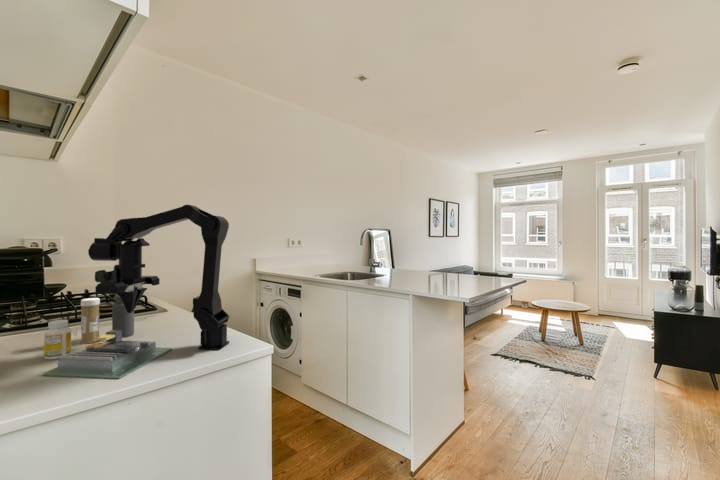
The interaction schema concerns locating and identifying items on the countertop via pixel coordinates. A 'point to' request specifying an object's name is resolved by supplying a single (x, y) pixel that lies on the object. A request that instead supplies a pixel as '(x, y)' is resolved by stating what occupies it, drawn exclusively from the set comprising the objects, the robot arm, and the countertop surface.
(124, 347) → the grey and orange bar
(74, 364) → the heatsink
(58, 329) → the supplement bottle
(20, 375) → the countertop surface
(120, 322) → the bottle
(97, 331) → the sprinkles bottle
